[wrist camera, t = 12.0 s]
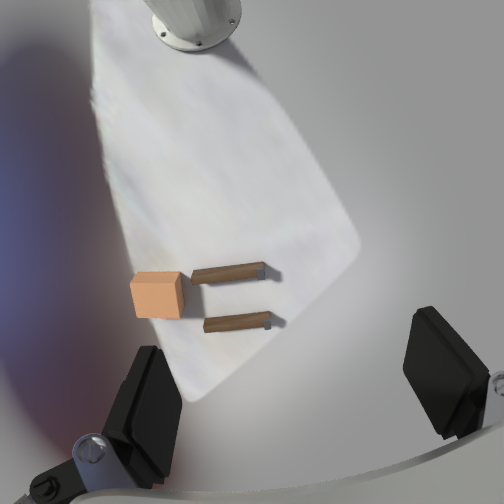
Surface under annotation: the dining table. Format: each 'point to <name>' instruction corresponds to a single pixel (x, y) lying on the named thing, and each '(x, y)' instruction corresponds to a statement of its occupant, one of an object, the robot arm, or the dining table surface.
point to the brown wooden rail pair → (226, 275)
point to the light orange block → (157, 294)
